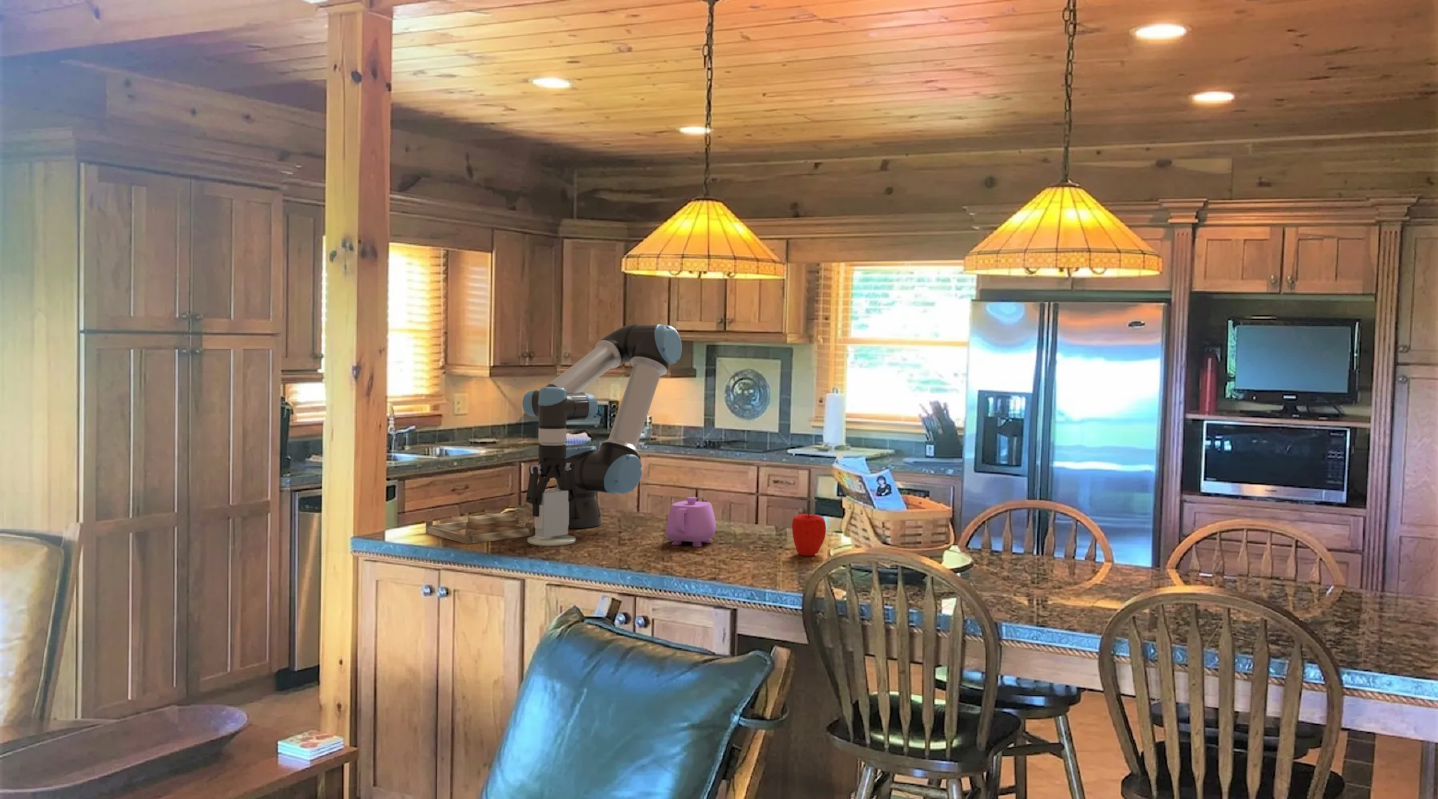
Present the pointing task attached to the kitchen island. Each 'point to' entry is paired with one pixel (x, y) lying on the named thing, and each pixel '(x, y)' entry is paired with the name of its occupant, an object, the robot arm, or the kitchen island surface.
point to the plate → (552, 540)
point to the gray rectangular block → (554, 513)
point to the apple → (808, 533)
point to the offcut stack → (491, 523)
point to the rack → (468, 538)
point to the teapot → (691, 522)
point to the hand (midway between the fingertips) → (551, 526)
